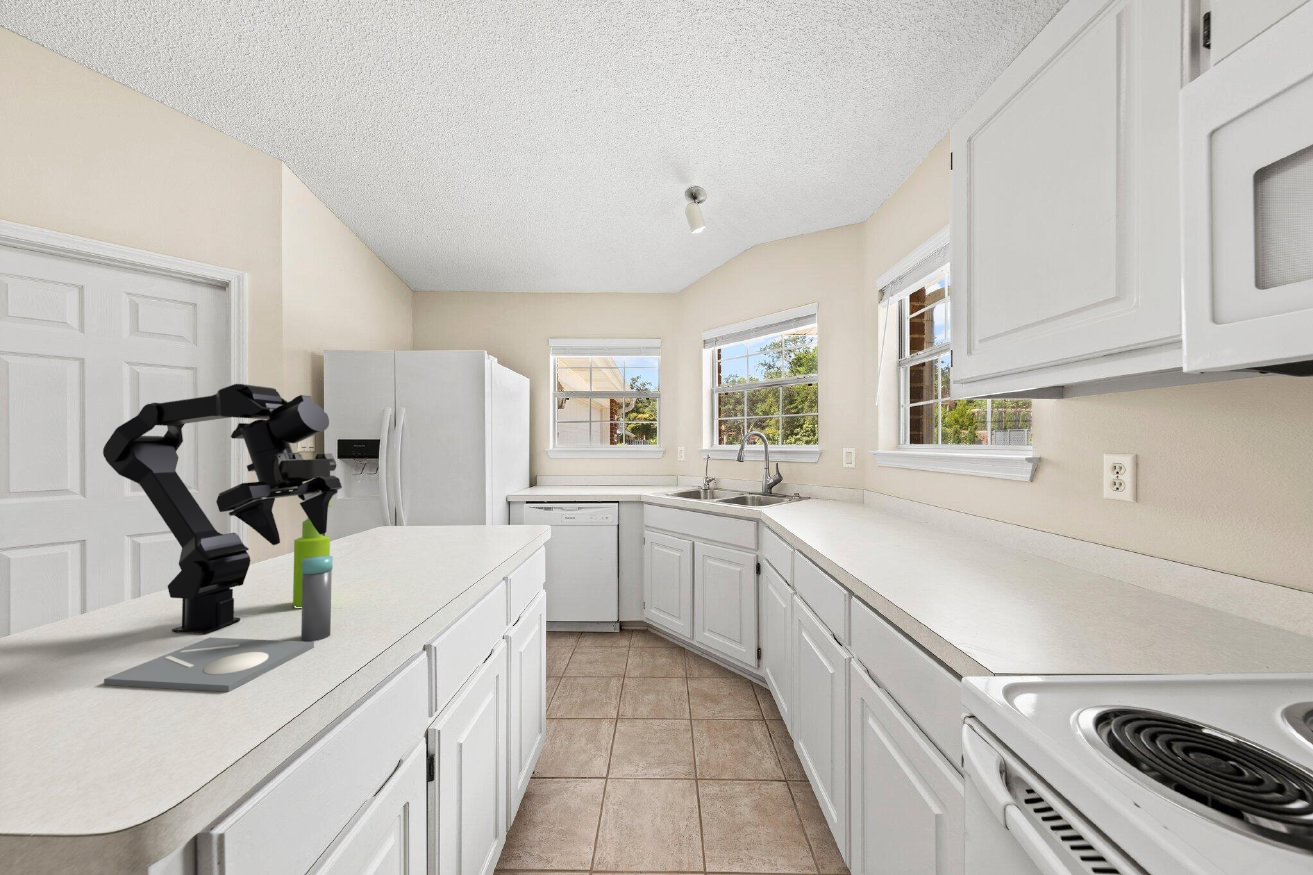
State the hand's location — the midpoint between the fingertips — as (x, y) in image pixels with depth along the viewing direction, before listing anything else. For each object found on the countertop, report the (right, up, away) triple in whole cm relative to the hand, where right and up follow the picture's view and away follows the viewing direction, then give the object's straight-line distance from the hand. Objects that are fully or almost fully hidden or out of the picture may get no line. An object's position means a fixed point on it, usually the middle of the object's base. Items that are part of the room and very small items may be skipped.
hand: (301, 538), depth 83 cm
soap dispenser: (-9, -16, +15) cm, 24 cm away
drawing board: (-3, -16, -12) cm, 20 cm away
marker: (+4, -16, -2) cm, 17 cm away
